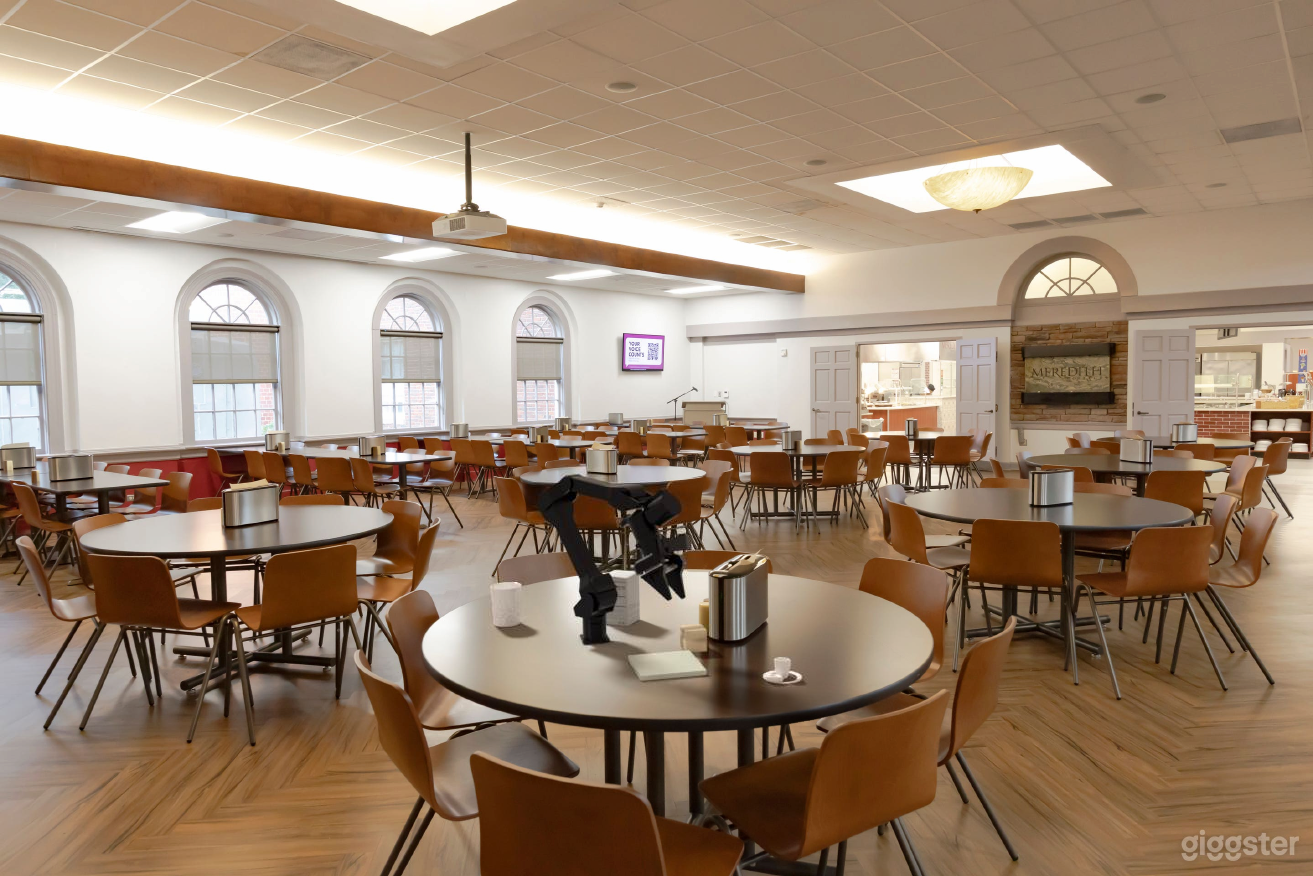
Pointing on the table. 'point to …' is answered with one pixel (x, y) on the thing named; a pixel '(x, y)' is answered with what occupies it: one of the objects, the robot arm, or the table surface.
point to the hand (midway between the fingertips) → (677, 599)
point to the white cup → (506, 603)
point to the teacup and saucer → (781, 671)
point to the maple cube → (693, 638)
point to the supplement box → (625, 599)
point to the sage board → (666, 665)
